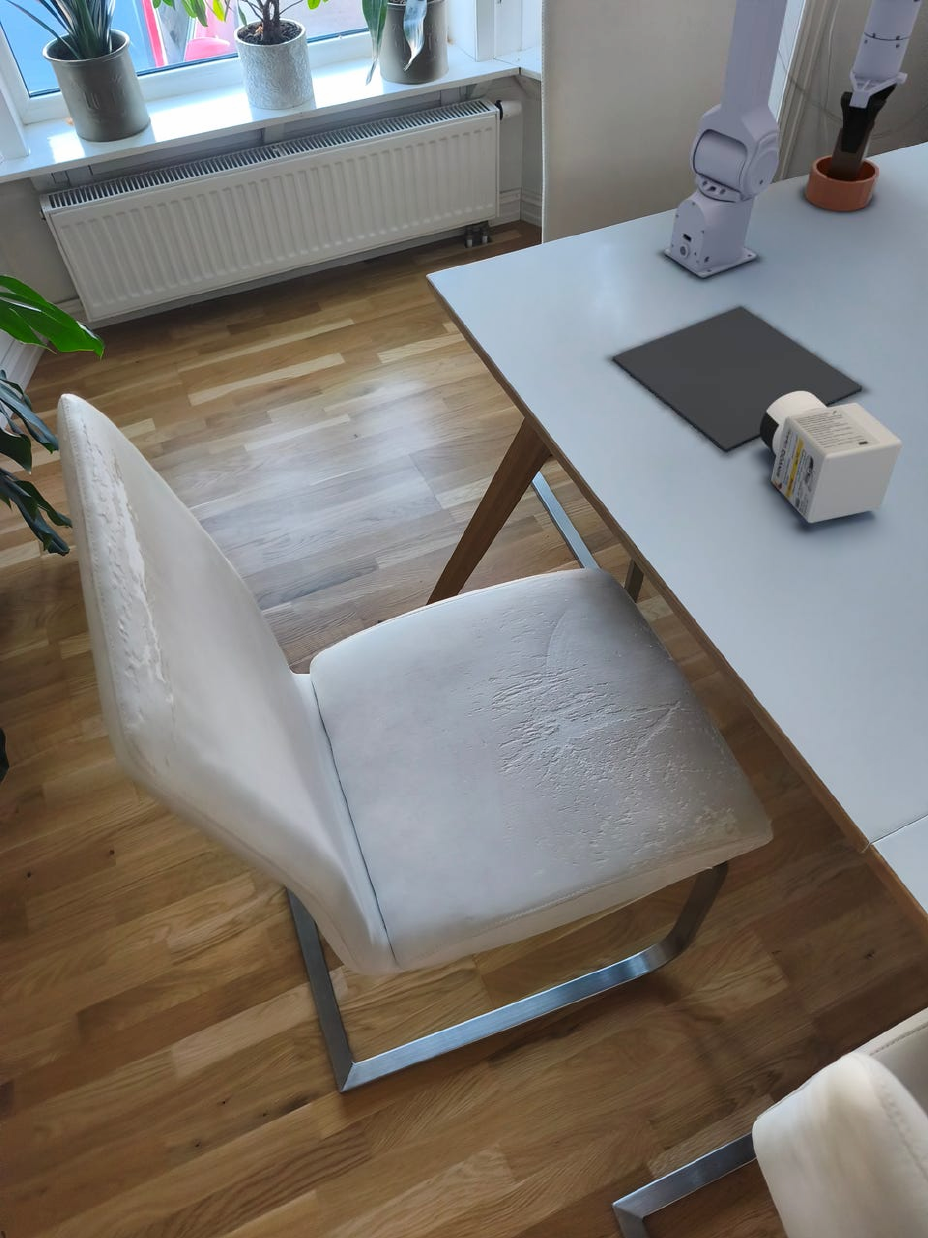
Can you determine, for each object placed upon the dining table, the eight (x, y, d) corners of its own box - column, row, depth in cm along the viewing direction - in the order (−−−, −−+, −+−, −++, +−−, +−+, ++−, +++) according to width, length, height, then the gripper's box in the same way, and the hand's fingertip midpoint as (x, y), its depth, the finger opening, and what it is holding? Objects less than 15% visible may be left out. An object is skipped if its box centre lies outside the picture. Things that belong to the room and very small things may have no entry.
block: (853, 185, 121) (870, 132, 116) (825, 179, 122) (840, 127, 117) (860, 173, 123) (877, 121, 118) (832, 168, 125) (847, 116, 119)
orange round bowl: (837, 217, 121) (846, 188, 118) (791, 192, 126) (799, 164, 123) (883, 200, 124) (893, 171, 121) (836, 176, 129) (844, 149, 126)
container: (808, 525, 82) (744, 454, 91) (881, 509, 83) (811, 441, 92) (827, 457, 76) (757, 388, 85) (905, 441, 77) (827, 375, 86)
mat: (725, 451, 90) (726, 448, 90) (612, 359, 101) (612, 356, 101) (861, 389, 96) (862, 386, 96) (740, 308, 107) (741, 305, 107)
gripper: (907, 55, 104) (869, 171, 114) (931, 19, 111) (893, 130, 122) (848, 47, 106) (816, 161, 117) (875, 12, 114) (843, 122, 124)
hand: (852, 145), depth 119 cm, fingers closed on block, 4 cm apart
